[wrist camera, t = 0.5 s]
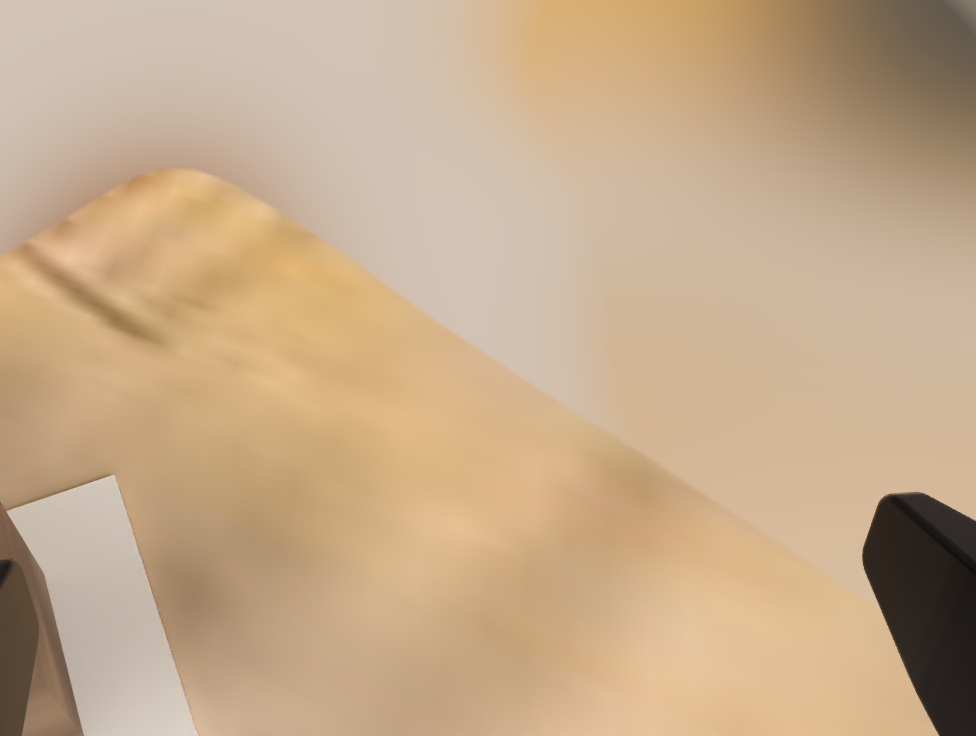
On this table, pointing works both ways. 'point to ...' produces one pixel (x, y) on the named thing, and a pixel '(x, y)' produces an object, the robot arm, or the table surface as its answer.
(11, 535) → the walnut post
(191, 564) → the table surface
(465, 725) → the table surface
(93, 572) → the tile
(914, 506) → the robot arm
